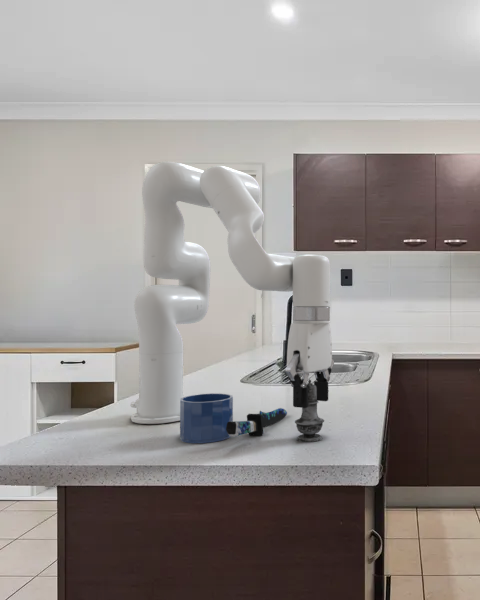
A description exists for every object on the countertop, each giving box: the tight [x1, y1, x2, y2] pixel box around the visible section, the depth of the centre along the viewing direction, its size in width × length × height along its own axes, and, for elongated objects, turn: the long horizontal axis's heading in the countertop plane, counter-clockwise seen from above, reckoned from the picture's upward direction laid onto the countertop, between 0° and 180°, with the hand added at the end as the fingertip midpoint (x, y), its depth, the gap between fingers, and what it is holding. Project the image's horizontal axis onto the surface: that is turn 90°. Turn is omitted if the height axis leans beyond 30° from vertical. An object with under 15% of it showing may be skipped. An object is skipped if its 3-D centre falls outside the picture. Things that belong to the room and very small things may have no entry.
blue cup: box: [179, 392, 234, 444], centre depth 106 cm, size 10×10×8 cm
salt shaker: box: [294, 378, 325, 443], centre depth 104 cm, size 6×6×12 cm
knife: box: [226, 407, 288, 437], centre depth 110 cm, size 31×3×4 cm, turn 169°
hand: (311, 403), depth 105 cm, fingers open, 6 cm apart
